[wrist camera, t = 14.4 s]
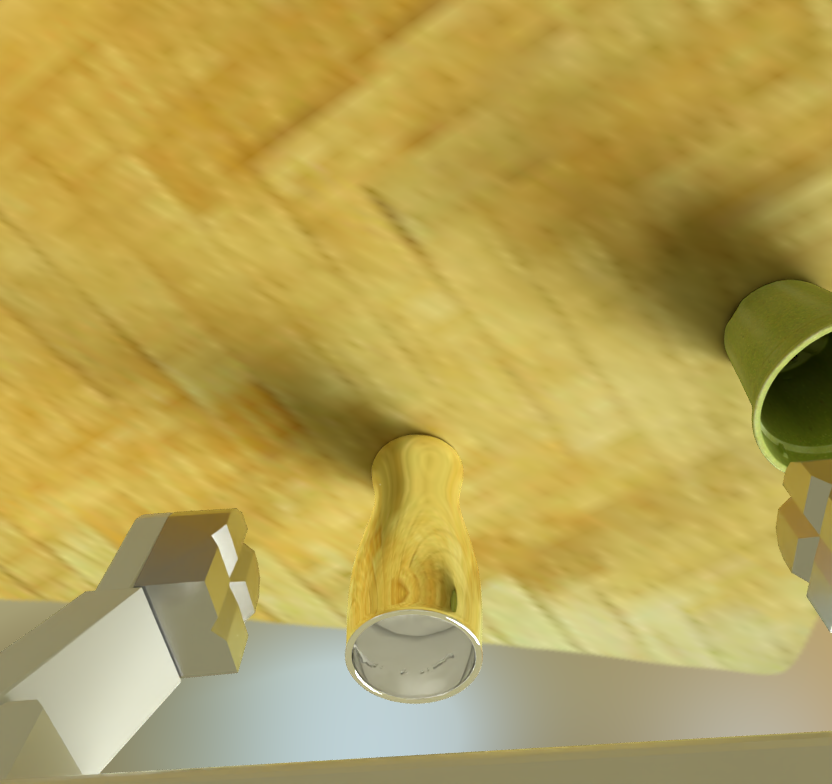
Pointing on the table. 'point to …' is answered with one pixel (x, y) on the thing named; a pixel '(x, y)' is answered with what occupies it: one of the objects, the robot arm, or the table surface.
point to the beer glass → (415, 579)
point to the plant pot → (786, 368)
